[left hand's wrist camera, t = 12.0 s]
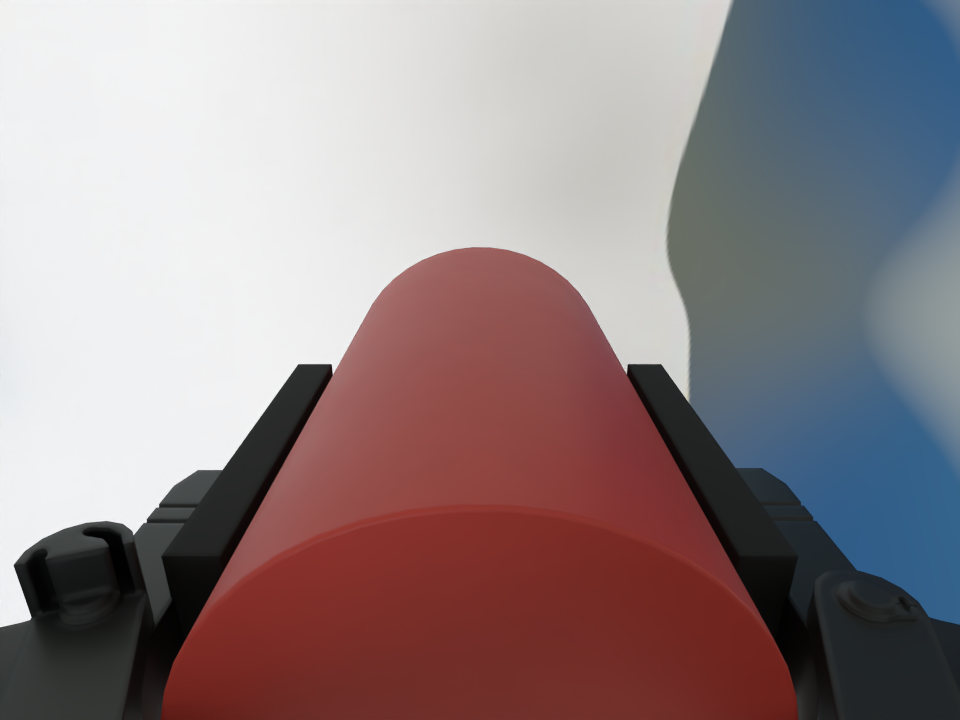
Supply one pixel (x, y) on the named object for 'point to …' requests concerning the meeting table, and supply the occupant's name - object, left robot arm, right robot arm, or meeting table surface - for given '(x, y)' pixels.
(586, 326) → the canister
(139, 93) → the meeting table surface
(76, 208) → the meeting table surface
